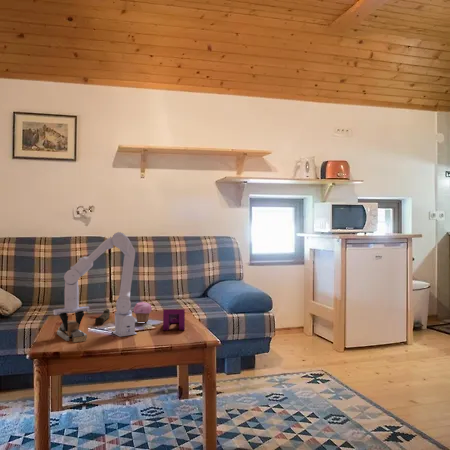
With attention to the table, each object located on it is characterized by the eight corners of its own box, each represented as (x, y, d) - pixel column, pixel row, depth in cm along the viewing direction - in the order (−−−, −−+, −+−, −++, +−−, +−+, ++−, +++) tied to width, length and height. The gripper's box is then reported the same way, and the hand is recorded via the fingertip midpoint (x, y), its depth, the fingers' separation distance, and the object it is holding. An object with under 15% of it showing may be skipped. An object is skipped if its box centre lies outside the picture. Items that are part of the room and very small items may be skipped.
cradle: (86, 338, 191) (86, 334, 191) (66, 341, 186) (66, 337, 186) (76, 331, 202) (76, 328, 202) (57, 334, 197) (57, 330, 197)
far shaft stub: (73, 332, 200) (73, 323, 200) (62, 334, 197) (62, 325, 197) (69, 330, 205) (69, 321, 205) (58, 331, 202) (58, 322, 202)
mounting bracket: (165, 337, 217) (162, 328, 200) (165, 319, 220) (163, 309, 204) (184, 336, 217) (184, 328, 201) (184, 319, 221) (184, 309, 205)
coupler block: (74, 331, 199) (74, 320, 199) (78, 335, 192) (78, 323, 192) (64, 332, 196) (64, 321, 196) (68, 336, 190) (68, 324, 190)
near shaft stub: (86, 340, 186) (86, 331, 186) (73, 342, 183) (73, 332, 183) (81, 337, 191) (81, 328, 191) (69, 339, 188) (69, 329, 188)
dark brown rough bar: (103, 325, 215) (103, 315, 215) (94, 325, 215) (95, 315, 215) (113, 317, 234) (114, 308, 234) (106, 317, 234) (106, 308, 234)
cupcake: (133, 321, 224) (133, 300, 224) (151, 320, 226) (151, 300, 226) (133, 325, 215) (133, 303, 215) (152, 324, 217) (152, 303, 217)
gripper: (56, 301, 186) (56, 334, 186) (91, 297, 195) (91, 329, 195) (52, 298, 192) (52, 330, 192) (86, 295, 201) (86, 326, 201)
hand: (71, 330), depth 194 cm, fingers closed on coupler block, 4 cm apart
